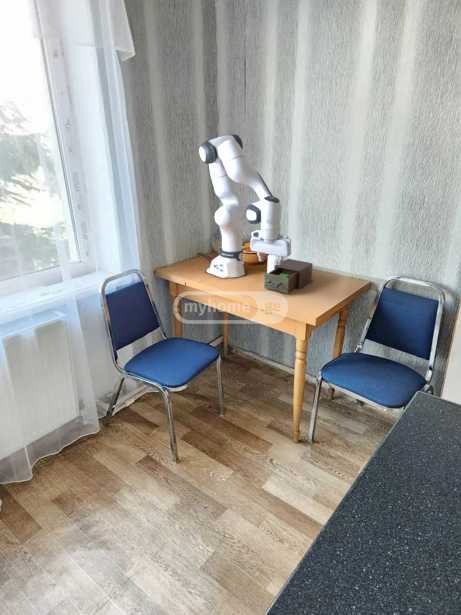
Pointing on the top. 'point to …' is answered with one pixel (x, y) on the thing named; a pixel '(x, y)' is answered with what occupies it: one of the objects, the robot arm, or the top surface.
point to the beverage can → (272, 262)
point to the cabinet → (298, 270)
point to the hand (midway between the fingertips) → (270, 262)
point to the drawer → (281, 280)
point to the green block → (284, 275)
